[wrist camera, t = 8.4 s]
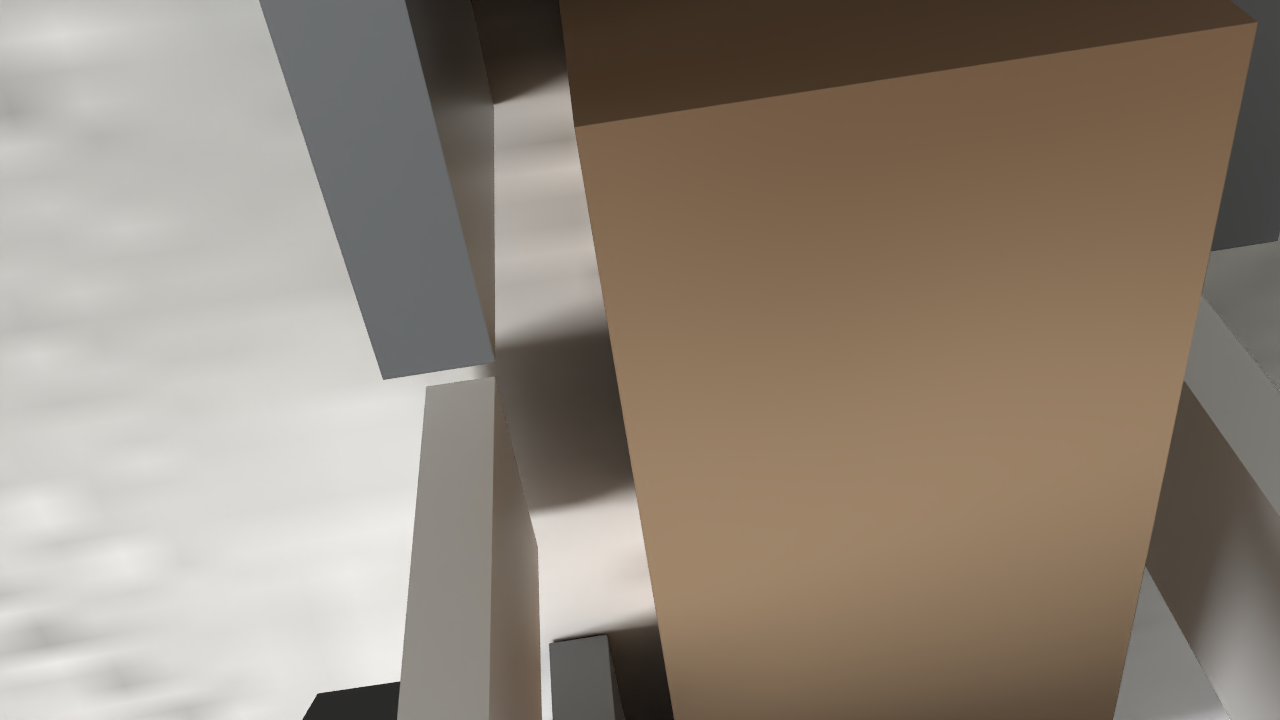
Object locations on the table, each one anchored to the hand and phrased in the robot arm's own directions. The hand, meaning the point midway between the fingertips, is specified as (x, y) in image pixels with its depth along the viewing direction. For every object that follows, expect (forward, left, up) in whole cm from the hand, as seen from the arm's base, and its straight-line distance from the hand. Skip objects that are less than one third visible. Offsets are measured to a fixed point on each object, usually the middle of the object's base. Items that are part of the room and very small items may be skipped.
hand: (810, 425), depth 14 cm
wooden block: (0, 0, -1) cm, 1 cm away
